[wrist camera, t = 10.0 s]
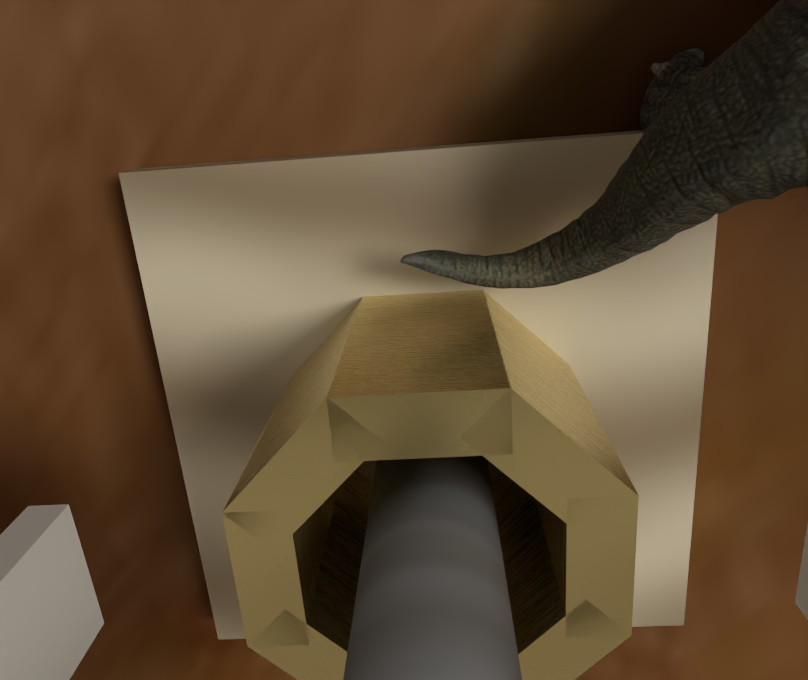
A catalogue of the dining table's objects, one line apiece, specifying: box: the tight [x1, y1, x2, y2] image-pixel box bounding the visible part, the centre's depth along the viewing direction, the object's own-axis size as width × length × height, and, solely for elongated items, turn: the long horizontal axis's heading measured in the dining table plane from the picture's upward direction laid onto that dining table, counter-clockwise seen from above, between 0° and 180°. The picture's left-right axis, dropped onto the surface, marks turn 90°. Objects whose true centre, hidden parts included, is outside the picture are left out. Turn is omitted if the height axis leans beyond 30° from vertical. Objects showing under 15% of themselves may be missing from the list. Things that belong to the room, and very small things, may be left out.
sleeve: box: [221, 290, 639, 680], centre depth 15 cm, size 7×7×6 cm
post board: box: [119, 130, 718, 680], centre depth 13 cm, size 14×14×12 cm
